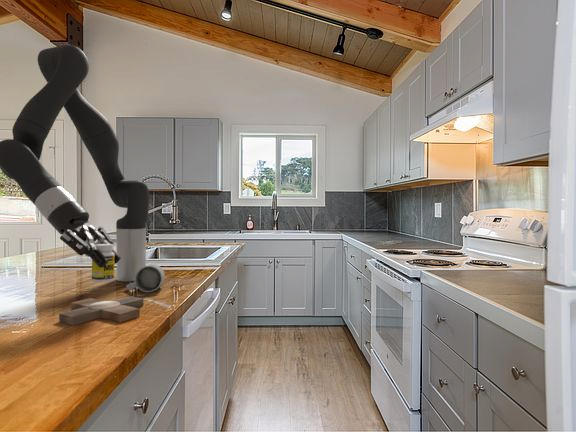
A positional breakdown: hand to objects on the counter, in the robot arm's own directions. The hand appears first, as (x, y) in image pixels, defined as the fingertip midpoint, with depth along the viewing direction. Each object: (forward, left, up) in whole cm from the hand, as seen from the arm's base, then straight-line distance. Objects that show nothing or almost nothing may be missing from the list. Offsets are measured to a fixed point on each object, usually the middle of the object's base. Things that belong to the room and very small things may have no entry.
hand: (111, 262), depth 87 cm
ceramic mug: (-24, +5, -12) cm, 27 cm away
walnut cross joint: (-1, -2, -12) cm, 12 cm away
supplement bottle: (-1, -2, -4) cm, 5 cm away
